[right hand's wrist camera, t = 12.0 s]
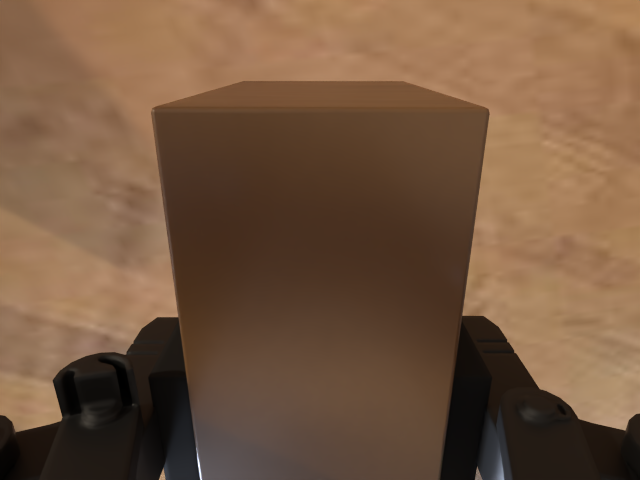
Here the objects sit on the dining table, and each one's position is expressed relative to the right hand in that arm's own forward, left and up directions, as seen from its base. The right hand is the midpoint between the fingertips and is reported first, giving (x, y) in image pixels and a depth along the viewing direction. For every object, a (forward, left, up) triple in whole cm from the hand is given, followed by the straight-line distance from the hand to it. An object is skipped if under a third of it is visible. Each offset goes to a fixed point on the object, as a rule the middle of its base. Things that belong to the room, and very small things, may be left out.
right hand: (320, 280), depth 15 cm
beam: (-16, -12, 0) cm, 20 cm away
